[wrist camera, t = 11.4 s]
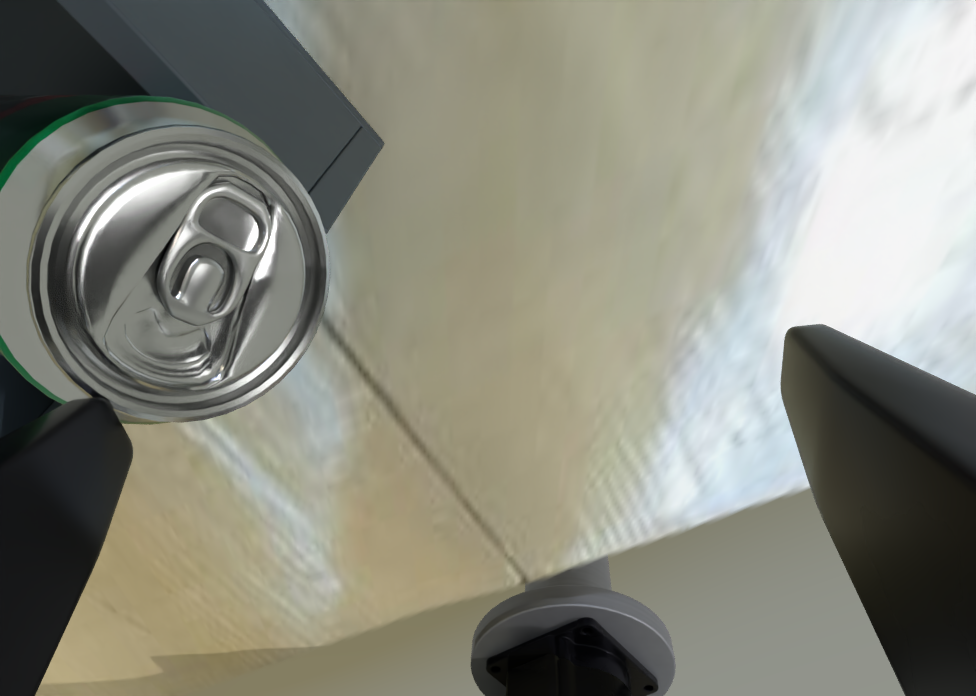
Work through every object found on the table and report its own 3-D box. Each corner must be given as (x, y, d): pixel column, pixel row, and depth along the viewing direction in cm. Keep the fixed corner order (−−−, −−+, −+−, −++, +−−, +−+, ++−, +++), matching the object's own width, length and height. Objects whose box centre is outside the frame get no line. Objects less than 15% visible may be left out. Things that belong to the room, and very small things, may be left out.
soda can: (-171, 242, 16) (-90, 391, 8) (-65, 50, 16) (110, 8, 8) (60, 322, 20) (271, 479, 12) (140, 163, 20) (395, 210, 12)
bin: (385, 143, 20) (328, 232, 14) (126, 360, 25) (8, 490, 19) (-9, -320, 15) (-321, -452, 10) (-240, 61, 20) (-538, 119, 14)
